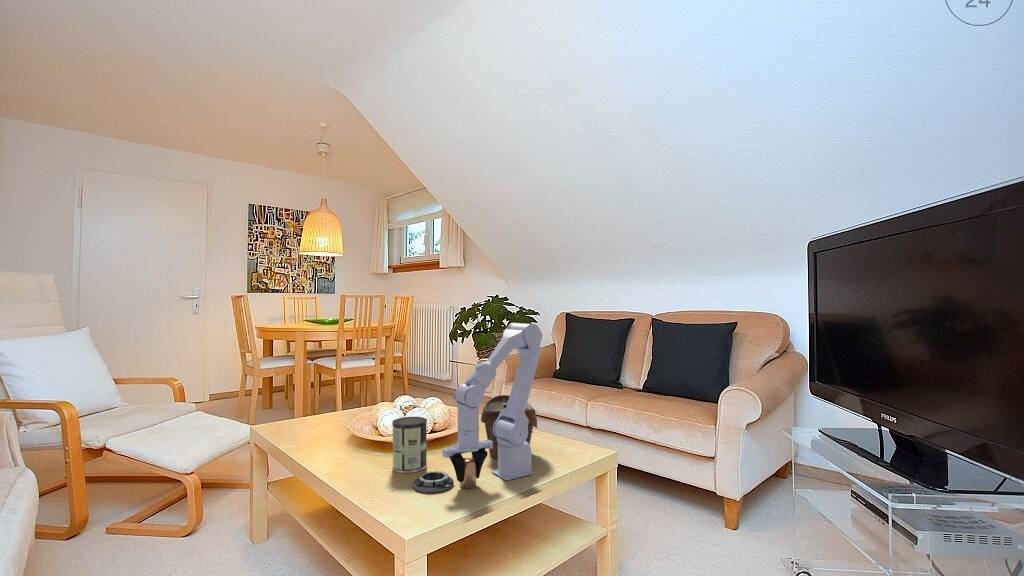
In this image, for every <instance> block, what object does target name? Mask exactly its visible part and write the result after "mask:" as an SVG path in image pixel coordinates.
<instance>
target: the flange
mask: <svg viewBox="0 0 1024 576" xmlns="http://www.w3.org/2000/svg"><path fill="white" fill-rule="evenodd" d="M454 485H455V484H454V479H453V478H452V477H451V476H449V473H446V472H445V471H440V470H433V471H432V470H431V471H426V472H423V473H421V474H420V475H419V476H418V477H417V478H416V479H415V480H414V481H412V488H413V490H414V491H416V492H418V493H422V494H438V493H442V492H447V491H449V490H450V489H452V488H453V487H454Z"/></svg>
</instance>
